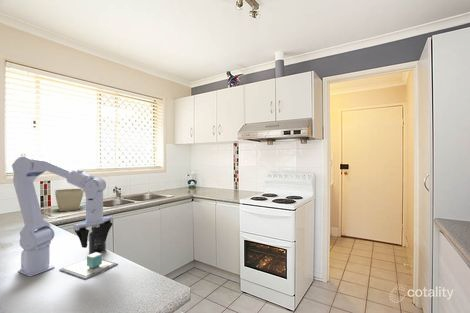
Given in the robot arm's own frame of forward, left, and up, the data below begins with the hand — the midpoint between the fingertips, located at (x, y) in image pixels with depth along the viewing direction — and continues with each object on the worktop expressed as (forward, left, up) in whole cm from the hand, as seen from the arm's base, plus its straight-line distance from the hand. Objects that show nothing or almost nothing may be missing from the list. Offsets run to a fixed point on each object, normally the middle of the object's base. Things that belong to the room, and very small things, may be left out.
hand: (94, 243), depth 90 cm
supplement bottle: (-16, +12, -10) cm, 22 cm away
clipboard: (-3, 0, -10) cm, 10 cm away
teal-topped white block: (0, 0, -9) cm, 9 cm away
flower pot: (-126, +60, -10) cm, 140 cm away
